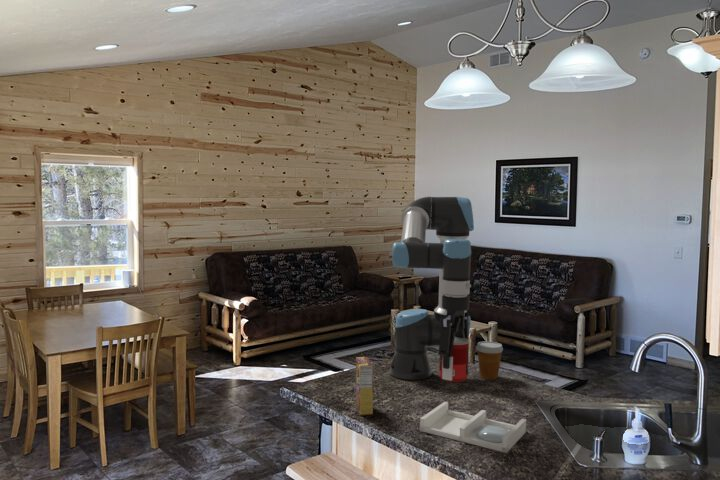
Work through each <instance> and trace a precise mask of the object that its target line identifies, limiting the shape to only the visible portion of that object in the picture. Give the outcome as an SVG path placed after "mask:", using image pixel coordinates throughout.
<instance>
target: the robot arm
mask: <svg viewBox="0 0 720 480" xmlns="http://www.w3.org/2000/svg"><path fill="white" fill-rule="evenodd" d="M400 216H401V218H400V223H401V226H402V231H401V238H400V240H401V241H400V242H399V241H397V242H394V243H393V244H392V253H391V254H392V255H391V258H392V266H393V267H395V268H403V269H432V270H433V269H434V270H435V269H436V270H437V269H438V270H439V276H438V277H439V282H438V304H437V306H436V307H435V308H434V309H433V314H431V313H430V314H429V311H428V310H427V309H424V308H423V309H422V308H414V309H408V310H407V309H406V310H403V311H401V312H399V313H398V314H396V317H395V324H394V328H395V336H394V337H395V342H394V343H395V344H394V347H395V348H394V354H393V358H392V359H391V363H390V366H389V374H390V375H391V376H392V377H395V378H398V379H402V380H409V381H417V380H425V379H428V378H430V377H431V376H432V366H431V363H430V358H429V356H428V348H429V347H433V348H438V355H439V357H440V356H443V366H442V379H441V380H443V379H445V380H444V381H446V380H450V381H449V382H451V381H452V375H453V357H452V356H451V355H452V350H453V343H454V339H455V337H459V338H467V339H468V340H469V341H470V337H469V336H470V331H471V319H472V318H471V316H470V313H469V312H468V310H470V296H469V295H470V294H471V293H470V292H471V291H470V288H471V287H472V284H471V259H472V258H471V257H472V243H471V241H470V240H469V239H468V238H469V237H470V232H472V231H474V229H475V228H474V213H473V206H472V202H471V200H470V199H469V198H468V197H461V196H460V197H459V196H425V197H421V198H418V199H416V200H413V201H412V202H410V203H409V204H408V205H407V206H406V207H405V208H404V209H403V211H402V213H401V215H400ZM429 230H431V231H435V235H436V237H437V238H438V239H439V240H440V241H439V242H426V231H429Z"/></svg>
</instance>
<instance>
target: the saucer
mask: <svg viewBox="0 0 720 480" xmlns="http://www.w3.org/2000/svg"><path fill="white" fill-rule="evenodd" d="M508 432H509V430H507V429H505V428H503V427H499V426H492V425H486V426H481V427H479V428H477V432H476V435H477V437H478V438H479V439H481V440H483V441H487V442H491V443H502V438H503V437H504V436H505V435H506V434H507V433H508Z"/></svg>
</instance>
